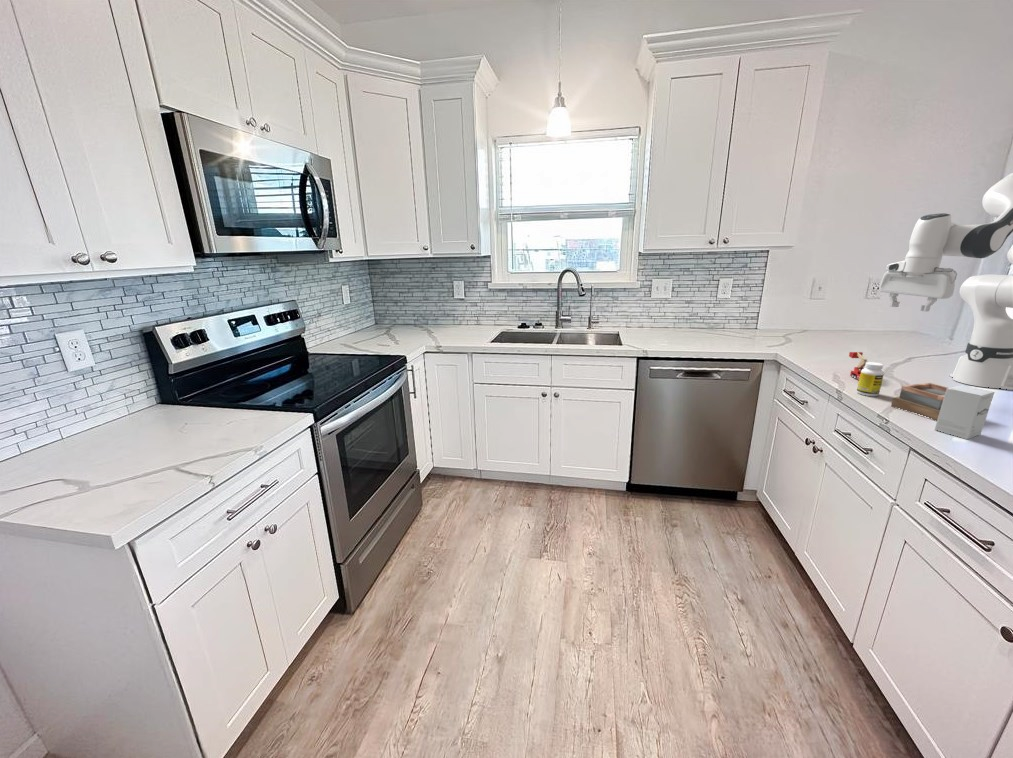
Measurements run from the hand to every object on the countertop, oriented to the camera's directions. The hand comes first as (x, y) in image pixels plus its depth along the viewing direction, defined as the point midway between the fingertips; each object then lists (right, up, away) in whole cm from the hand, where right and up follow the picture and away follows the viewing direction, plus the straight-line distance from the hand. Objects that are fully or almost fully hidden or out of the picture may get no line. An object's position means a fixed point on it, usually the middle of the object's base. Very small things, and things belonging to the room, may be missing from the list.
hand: (909, 308), depth 147 cm
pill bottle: (-9, -29, +6) cm, 31 cm away
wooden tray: (-3, -34, -10) cm, 35 cm away
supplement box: (-10, -39, -25) cm, 47 cm away
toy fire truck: (+1, -24, +23) cm, 33 cm away
